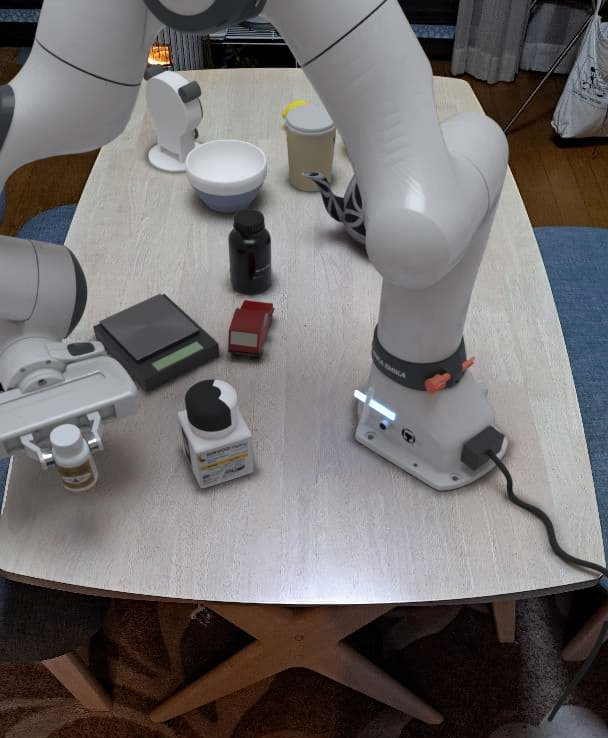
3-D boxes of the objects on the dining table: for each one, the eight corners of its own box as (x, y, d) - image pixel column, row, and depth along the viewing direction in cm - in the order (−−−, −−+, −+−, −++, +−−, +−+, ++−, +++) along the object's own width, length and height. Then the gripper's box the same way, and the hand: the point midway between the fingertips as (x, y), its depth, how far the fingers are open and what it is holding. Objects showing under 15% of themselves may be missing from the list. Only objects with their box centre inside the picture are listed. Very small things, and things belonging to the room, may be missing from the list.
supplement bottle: (266, 298, 132) (264, 232, 122) (226, 292, 132) (221, 226, 123) (276, 272, 136) (274, 207, 126) (236, 267, 136) (232, 201, 127)
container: (201, 490, 108) (190, 422, 97) (182, 450, 112) (171, 381, 102) (254, 473, 110) (250, 404, 99) (234, 434, 114) (228, 365, 103)
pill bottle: (63, 496, 96) (46, 452, 89) (60, 468, 98) (44, 424, 92) (100, 489, 96) (86, 445, 90) (96, 462, 99) (83, 417, 92)
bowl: (255, 173, 153) (253, 133, 147) (278, 215, 145) (277, 175, 139) (181, 185, 151) (176, 145, 144) (200, 229, 143) (195, 189, 136)
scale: (219, 355, 124) (218, 339, 121) (147, 392, 119) (144, 376, 116) (166, 306, 130) (163, 289, 128) (95, 339, 125) (91, 322, 123)
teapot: (298, 206, 147) (298, 124, 135) (464, 201, 148) (479, 119, 136) (305, 271, 136) (306, 188, 124) (484, 265, 137) (502, 182, 125)
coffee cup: (344, 184, 151) (348, 120, 142) (303, 199, 148) (304, 135, 139) (316, 161, 156) (318, 98, 146) (276, 176, 153) (274, 112, 143)
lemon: (317, 123, 164) (318, 96, 160) (314, 137, 161) (315, 109, 157) (283, 121, 165) (283, 93, 160) (280, 134, 162) (279, 107, 157)
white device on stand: (221, 156, 157) (215, 75, 144) (179, 180, 152) (169, 98, 139) (179, 134, 161) (169, 54, 149) (136, 157, 156) (123, 75, 144)
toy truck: (276, 316, 129) (277, 290, 125) (262, 364, 123) (262, 338, 118) (241, 311, 130) (240, 284, 125) (225, 359, 123) (223, 333, 119)
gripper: (-55, 388, 94) (-27, 468, 87) (112, 336, 100) (151, 408, 93) (-36, 425, 100) (-9, 504, 92) (121, 374, 105) (159, 445, 98)
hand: (73, 456), depth 93 cm, fingers closed on pill bottle, 4 cm apart
